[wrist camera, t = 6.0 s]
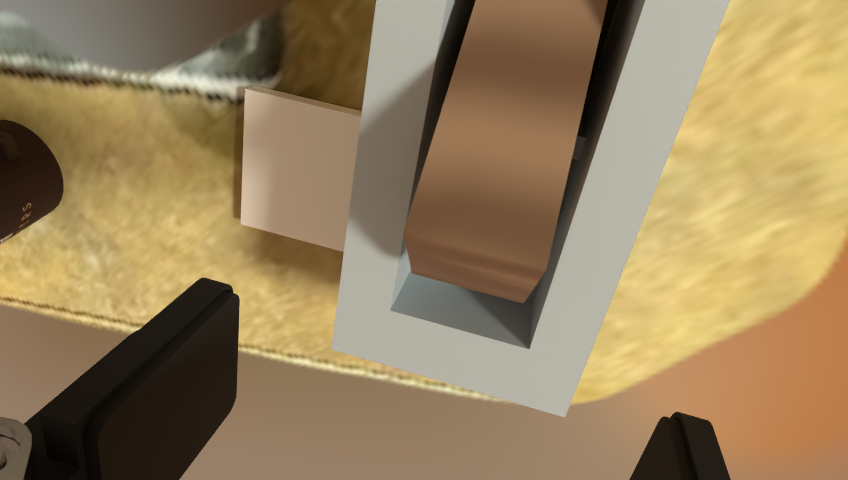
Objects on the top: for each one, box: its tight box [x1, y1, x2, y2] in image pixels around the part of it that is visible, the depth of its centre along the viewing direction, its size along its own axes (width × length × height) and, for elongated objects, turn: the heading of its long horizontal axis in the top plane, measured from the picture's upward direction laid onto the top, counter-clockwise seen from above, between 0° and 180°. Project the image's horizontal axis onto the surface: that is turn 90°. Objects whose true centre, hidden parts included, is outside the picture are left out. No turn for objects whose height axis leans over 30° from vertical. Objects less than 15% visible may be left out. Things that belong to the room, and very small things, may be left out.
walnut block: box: [403, 0, 608, 303], centre depth 21 cm, size 14×4×5 cm
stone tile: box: [241, 86, 362, 252], centre depth 31 cm, size 8×8×1 cm
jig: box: [331, 0, 730, 417], centre depth 24 cm, size 22×11×8 cm, turn 169°
